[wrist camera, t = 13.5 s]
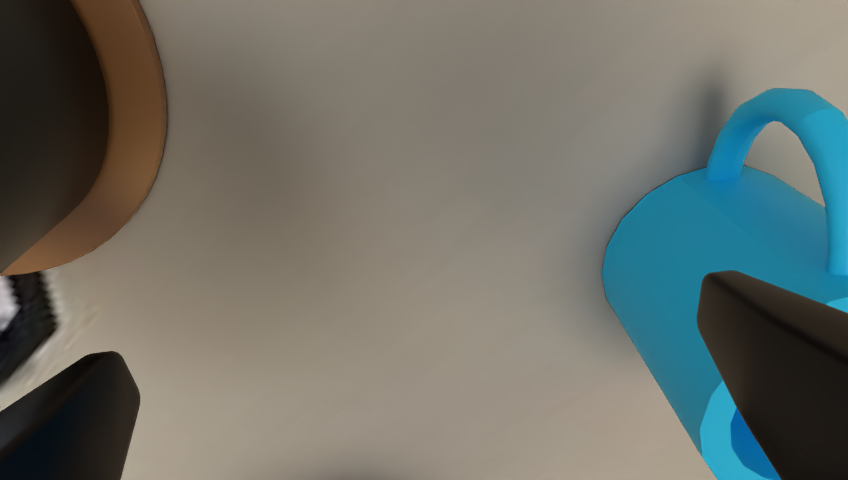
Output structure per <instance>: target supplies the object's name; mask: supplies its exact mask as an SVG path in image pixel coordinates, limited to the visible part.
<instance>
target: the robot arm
mask: <svg viewBox="0 0 848 480" xmlns="http://www.w3.org/2000/svg"><path fill="white" fill-rule="evenodd" d="M697 326H698V330H699V332H700V335H701V337H702V339H703V341H704V343H705V345H706V347H707V349H708V351H709V353H710V355H711V357H712V359H713V361H714V363H715V365H716V367H717V369H718V371H719V373H720V375H721V377H722V379H723V381H724V383H725V385H726V387H727V389H728V391H729V393H730V395H731V397H732V399H733V401H734V403H735V405H736V407H737V409H738V411H739V413H740V415H741V416H742V418H743V420H744V422H745V423H746V425H747V427H748V428H749V430H750V431H751V433H752V435H753V436H754V438H755V439H756V441H757V442H758V444H759V446H760V447H761V449H762V450H763V452H764V453H765V455H766V457H767V458H768V460H769V461H770V463H771V464H772V466H773V468H774V469H775V471H776V472H777V474H778V475H779V477H780V479H781V480H848V313H847V312H844V311H841V310H839V309H836V308H834V307H831V306H828V305H826V304H823V303H820V302H818V301H815V300H813V299H810V298H807V297H805V296H802V295H799V294H797V293H794V292H791V291H789V290H786V289H784V288H781V287H778V286H776V285H773V284H770V283H768V282H765V281H763V280H760V279H757V278H755V277H752V276H749V275H747V274H744V273H741V272H739V271H736V270H726V271H719V272H711V273H708V274H706V275H705V276H704V278H703V280H702V284H701V291H700V297H699V304H698V310H697ZM139 406H140V393H139V390H138V387H137V385H136V383H135V381H134V379H133V377H132V375H131V373H130V371H129V369H128V367H127V365H126V363H125V361H124V359H123V358H122V356H121V355H120V354H119V353H117V352H114V351H108V352H101V353H93V354H89V355H86V356H84V357H83V358H81V359H80V360H78V361H77V362H75V363H74V364H72V365H71V366H69V367H68V368H66V369H65V370H63V371H61V372H60V373H58V374H57V375H55V376H54V377H52V378H51V379H49V380H48V381H46V382H45V383H43V384H42V385H40V386H39V387H37V388H36V389H34V390H33V391H31V392H30V393H28V394H27V395H25V396H23V397H22V398H20V399H19V400H17V401H16V402H14V403H13V404H11V405H10V406H8V407H7V408H5V409H4V410H2V411H1V412H0V480H120V479H121V475H122V472H123V468H124V464H125V460H126V456H127V453H128V449H129V445H130V441H131V437H132V433H133V430H134V426H135V422H136V418H137V414H138V410H139Z"/></svg>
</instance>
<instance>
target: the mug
mask: <svg viewBox="0 0 848 480" xmlns="http://www.w3.org/2000/svg"><path fill="white" fill-rule="evenodd" d="M772 121H778V122H782V123H783V124H784V125H785V126H787V127H788V128H789V129H790V130H791V131H793V132H794V133H795V134H796V135H797V136H798V137H799V139H800V141H801V143H802V144H803V146H804V148H805V149H806V151H807V153H808V155H809V156H810V158H811V160H812V162H813V163H814V166H815V170H816V173H817V177H818V181H819V184H820V188H821V191H822V195H823V198H824V202H825V207H823V206H821V205H820V204H818V203H817V202H815V201H813V200H812V199H810V198H808V197H807V196H805V195H804V194H802V193H800V192H799V191H797V190H796V189H794V188H792V187H791V186H789V185H787V184H786V183H784V182H783V181H781V180H779V179H778V178H776V177H774V176H773V175H771V174H768V173H765V172H762V171H759V170H756V169H753V168H750V167H747V166H743V163H744V160H745V158H746V156H747V153H748V151H749V149H750V147H751V145H752V142H753V140H754V138H755V137H756V136H757V135H758V134H759V132H760V131H761V130H762V129H763V128H764V127H765V126H766V124H768V123H770V122H772ZM726 270H736V271H739V272H741V273H744V274H747V275H749V276H752V277H755V278H757V279H760V280H763V281H765V282H768V283H770V284H773V285H776V286H778V287H781V288H784V289H786V290H789V291H791V292H794V293H797V294H799V295H802V296H805V297H807V298H810V299H813V300H815V301H818V302H820V303H823V304H826V305H828V306H831V307H834V308H836V309H839V310H841V311H844V312H847V313H848V120H847V119H846V117H845V116H844V114H843V113H842V112H841V111H840V110H839V109H837V108H836V107H834V106H833V105H831V104H830V103H828V102H827V101H826V100H824V99H823V98H821V97H820V96H818V95H817V94H816V93H814V92H813V91H810V90H803V89H787V88H773V89H770V90H767V91H765V92H763V93H761V94H760V95H758V96H756V97H754V98H752V99H751V100H749V101H747V102H745V103H744V104H742V105H740V106H739V107H738V108H737V109H736V110H735V112H734V113H733V114H732V116H731V117H730V118H729V120H728V121H727V123H726V124H725V125H724V127H723V128H722V129H721V131H720V133H719V135H718V138H717V140H716V143H715V145H714V148H713V150H712V153H711V155H710V158H709V161H708V165H707V167H706V168H703V169H699V170H696V171H693V172H689V173H686V174H683V175H679V176H677V177H675V178H673V179H672V180H670V181H668V182H667V183H665V184H663V185H662V186H660V187H658V188H657V189H655V190H653V191H652V192H650V193H648V194H647V195H646V196H645V197H644V198H643V199H642V200H641V201H640V202H639V203H638V204H637V205H636V206H635V207H634V208H633V209H632V210H631V211H630V212H629V213H628V214H627V215H626V216H625V217H624V218H623V219H622V220H621V222H620V224H619V226H618V228H617V229H616V231H615V233H614V235H613V237H612V238H611V240H610V242H609V244H608V246H607V248H606V254H605V259H604V264H603V269H602V279H603V284H604V289H605V295H606V299H607V300H608V302H609V304H610V305H611V307H612V308H613V310H614V312H615V313H616V315H617V317H618V318H619V320H620V322H621V323H622V325H623V327H624V328H625V330H626V332H627V333H628V335H629V337H630V338H631V340H632V342H633V343H634V345H635V347H636V348H637V350H638V352H639V353H640V355H641V357H642V358H643V360H644V361H645V363H646V365H647V366H648V368H649V370H650V371H651V373H652V375H653V376H654V378H655V380H656V381H657V383H658V385H659V386H660V388H661V390H662V391H663V393H664V395H665V396H666V398H667V400H668V401H669V403H670V405H671V406H672V408H673V410H674V411H675V413H676V414H677V416H678V418H679V419H680V421H681V423H682V424H683V426H684V428H685V429H686V431H687V433H688V434H689V436H690V438H691V439H692V441H693V443H694V444H695V446H696V448H697V449H698V451H699V453H700V454H701V456H702V458H703V459H704V460H705V462H706V463H707V465H708V466H709V468H710V469H711V471H712V472H713V473H714V475H715V476H716V478H717V479H718V480H781V479H780V477H779V475H778V474H777V472H776V471H775V469H774V468H773V466H772V464H771V463H770V461H769V460H768V458H767V457H766V455H765V453H764V452H763V450H762V449H761V447H760V446H759V444H758V442H757V441H756V439H755V438H754V436H753V435H752V433H751V431H750V430H749V428H748V427H747V425H746V423H745V422H744V420H743V418H742V416H741V415H740V413H739V411H738V409H737V407H736V405H735V403H734V401H733V399H732V397H731V395H730V393H729V391H728V389H727V387H726V385H725V383H724V381H723V379H722V377H721V375H720V373H719V371H718V369H717V367H716V365H715V363H714V361H713V359H712V357H711V355H710V353H709V351H708V349H707V347H706V345H705V343H704V341H703V339H702V337H701V335H700V332H699V330H698V326H697V310H698V304H699V297H700V291H701V284H702V280H703V278H704V276H705V275H706V274H708V273H711V272H719V271H726Z"/></svg>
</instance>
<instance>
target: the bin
mask: <svg viewBox="0 0 848 480" xmlns="http://www.w3.org/2000/svg"><path fill="white" fill-rule="evenodd" d="M108 134H109V106H108V99H107V93H106V86H105V81H104V77H103V74H102V70H101V67H100V63H99V60H98V57H97V54H96V52H95V49H94V47H93V44H92V42H91V40H90V37H89V35H88V32H87V30H86V28H85V26H84V24H83V22H82V21H81V19H80V17H79V15H78V13H77V12H76V10H75V8H74V6H73V4H72V3H71V1H70V0H0V274H1V273H2V272H3V271H4V270H5V269H6V268H8V267H9V266H10V265H11V264H12V263H13V262H15V261H16V260H17V259H18V258H19V257H20V256H21V255H23V254H24V253H25V252H26V251H27V250H28V249H30V248H31V247H32V246H33V245H34V244H35V243H37V242H38V241H39V240H40V239H41V238H42V237H43V236H45V235H46V234H47V233H48V232H49V231H50V230H52V229H53V228H54V227H55V226H56V225H57V224H59V223H60V222H61V221H62V220H63V219H64V218H65V217H67V216H68V215H69V214H70V213H71V212H72V211H73V210H74V209H75V208H76V207H77V206H78V205H79V204H80V203H81V202H82V200H83V199H84V198H85V196H86V195H87V194H88V192H89V191H90V190H91V188H92V186H93V184H94V182H95V180H96V178H97V176H98V174H99V172H100V170H101V166H102V163H103V160H104V157H105V154H106V148H107V141H108Z"/></svg>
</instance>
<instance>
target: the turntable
mask: <svg viewBox="0 0 848 480" xmlns="http://www.w3.org/2000/svg"><path fill="white" fill-rule="evenodd" d="M70 1H71V3H72V4H73V6H74V8H75V10H76V12H77V13H78V15H79V17H80V19H81V21H82V22H83V24H84V26H85V28H86V30H87V32H88V35H89V37H90V40H91V42H92V44H93V47H94V49H95V52H96V54H97V57H98V60H99V63H100V67H101V70H102V74H103V77H104V81H105V86H106V93H107V99H108V106H109V134H108V141H107V148H106V154H105V157H104V160H103V163H102V166H101V170H100V172H99V174H98V176H97V178H96V180H95V182H94V184H93V186H92V188H91V190H90V191H89V192H88V194H87V195H86V196H85V198H84V199H83V200H82V202H81V203H80V204H79V205H78V206H77V207H76V208H75V209H74V210H73V211H72V212H71V213H70V214H69V215H68V216H67V217H65V218H64V219H63V220H62V221H61V222H60V223H59V224H57V225H56V226H55V227H54V228H53V229H52V230H50V231H49V232H48V233H47V234H46V235H45V236H43V237H42V238H41V239H40V240H39V241H38V242H37V243H35V244H34V245H33V246H32V247H31V248H30V249H28V250H27V251H26V252H25V253H24V254H23V255H21V256H20V257H19V258H18V259H17V260H16V261H15V262H13V263H12V264H11V265H10V266H9V267H8V268H6V269H5V270H4V271H3V272H2V273H1V274H0V276H3V275H16V274H25V273H30V272H36V271H41V270H46V269H50V268H53V267H56V266H59V265H62V264H65V263H68V262H71V261H73V260H75V259H77V258H79V257H81V256H83V255H85V254H87V253H89V252H91V251H93V250H94V249H96V248H97V247H99V246H100V245H101V244H103V243H104V242H106V241H107V240H109V239H110V238H111V237H112V236H113V235H114V234H115V233H116V232H117V231H119V230H120V229H121V228H122V227H123V226H124V225H125V224H126V223H127V222H128V221H129V220H130V218H131V217H132V216H133V215H134V213H135V212H136V211H137V209H138V208H139V206H140V205H141V204H142V202H143V201H144V199H145V198H146V196H147V194H148V192H149V190H150V188H151V186H152V184H153V182H154V180H155V178H156V175H157V172H158V168H159V165H160V162H161V158H162V155H163V150H164V142H165V135H166V128H167V120H166V94H165V87H164V80H163V73H162V67H161V64H160V60H159V57H158V53H157V49H156V46H155V42H154V39H153V35H152V33H151V31H150V28H149V26H148V23H147V21H146V18H145V16H144V13H143V11H142V8H141V6H140V4H139V2H138V0H70Z"/></svg>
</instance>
